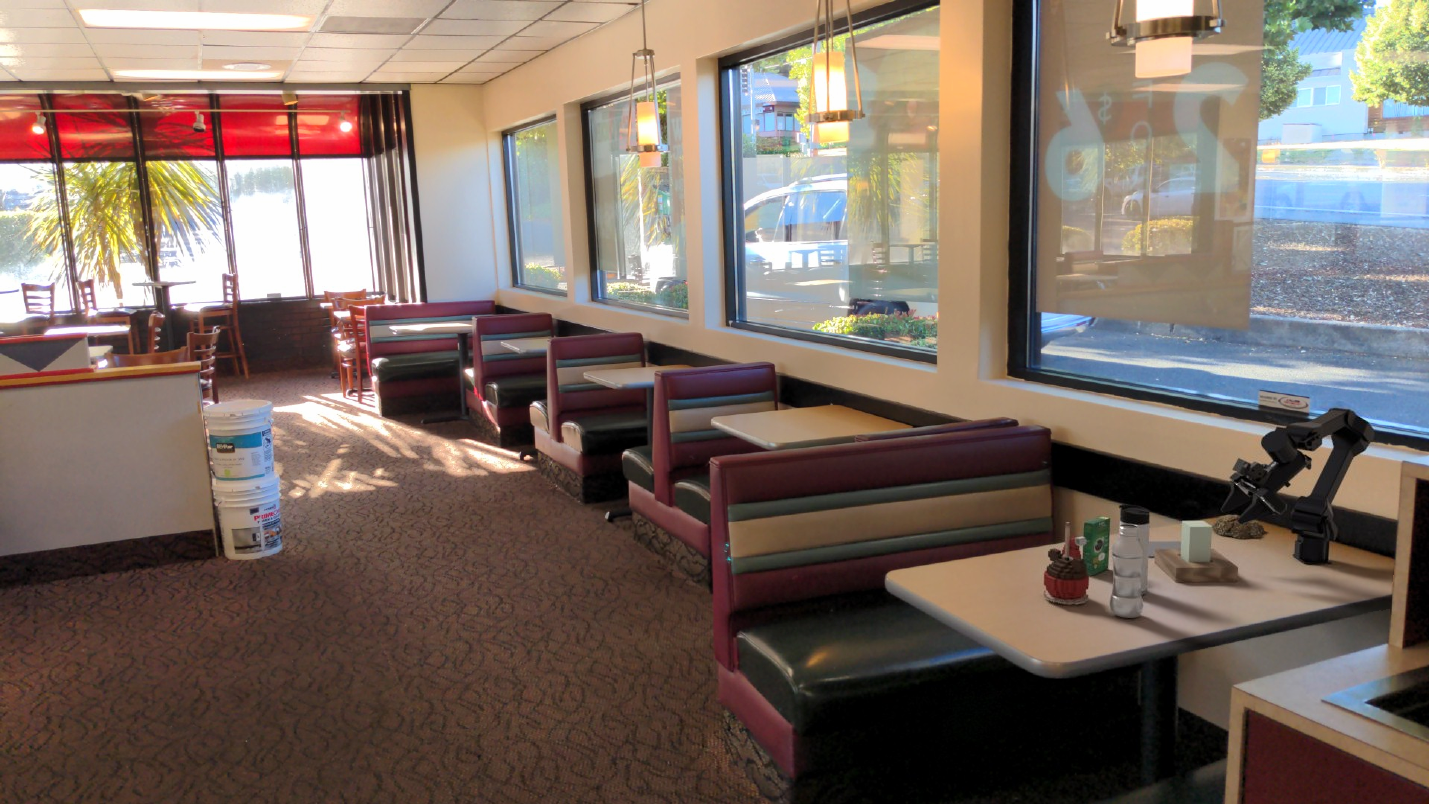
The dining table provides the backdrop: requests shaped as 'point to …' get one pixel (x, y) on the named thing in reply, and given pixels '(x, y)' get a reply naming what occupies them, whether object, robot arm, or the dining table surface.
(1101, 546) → the coffee box
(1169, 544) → the mat
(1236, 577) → the holder
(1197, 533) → the block
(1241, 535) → the brown rock
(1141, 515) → the travel mug
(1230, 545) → the dining table surface
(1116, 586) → the plastic bottle
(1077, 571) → the cake
